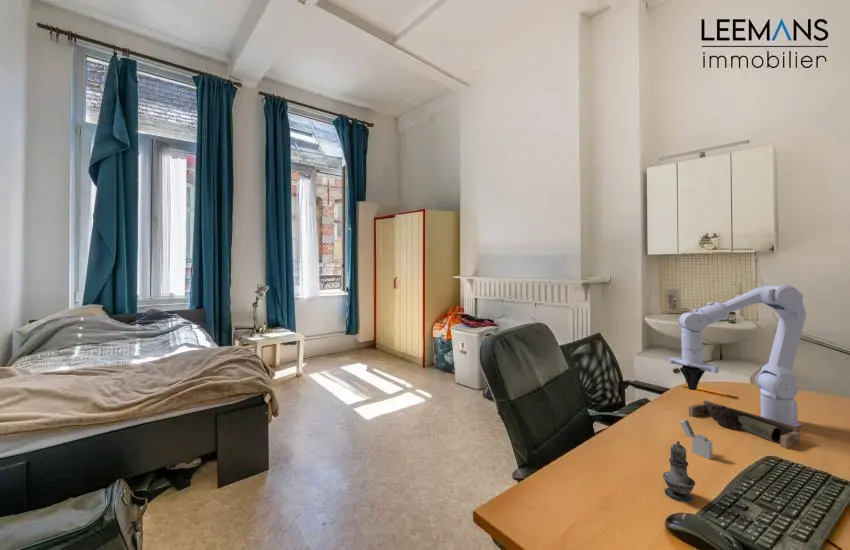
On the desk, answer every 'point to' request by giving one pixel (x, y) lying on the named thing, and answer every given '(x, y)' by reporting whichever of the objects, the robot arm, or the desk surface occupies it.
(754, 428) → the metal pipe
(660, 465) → the desk surface
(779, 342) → the robot arm
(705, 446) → the lighter
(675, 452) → the salt shaker
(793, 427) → the bearing cradle
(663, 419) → the desk surface
